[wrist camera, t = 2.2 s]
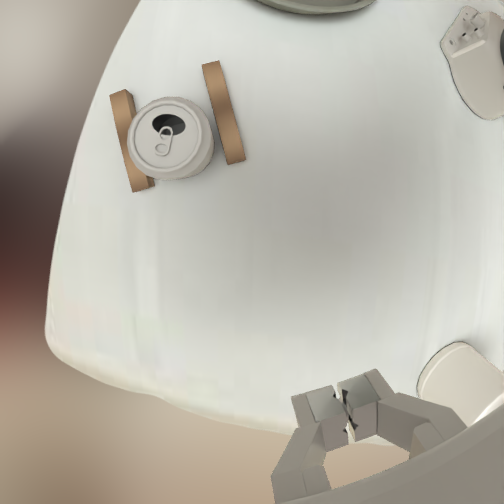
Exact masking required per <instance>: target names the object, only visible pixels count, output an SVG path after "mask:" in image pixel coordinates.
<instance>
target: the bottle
mask: <svg viewBox="0 0 504 504" xmlns="http://www.w3.org/2000/svg"><path fill="white" fill-rule="evenodd" d="M417 389H418V396H419V398H420V399H422V400H425V401H429V402H432V403H436V404H439V405H443V406H446V407H450V408H452V409H453V410H454V412H455V413H456V414H457V415H458V416H459V417H460V419H461V420H462V421H463V422H464V423H465V424H466V426H467V427H470V426H471V425H473V424H474V423H476V422H477V421H479V420H480V419H482V418H483V417H485V416H486V415H488V414H489V413H491V412H492V411H494V410H495V409H496V408H498V407H499V406H501V405H502V404H503V403H504V373H503V372H501V371H500V370H499V369H498V368H497V367H495V366H494V365H493V364H492V363H491V362H489V361H488V360H487V359H486V358H484V357H483V356H482V355H481V354H479V353H478V352H477V351H476V350H475V349H474V348H473V347H471V346H469V345H468V344H466V343H464V342H458V343H453V344H451V345H449V346H447V347H445V348H443V349H442V350H441V351H440V352H438V353H437V354H436V355H435V356H434V357H433V358H432V359H431V360H430V362H429V363H428V364H427V365H426V367H425V368H424V370H423V372H422V374H421V376H420V378H419V382H418V386H417Z"/></svg>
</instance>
